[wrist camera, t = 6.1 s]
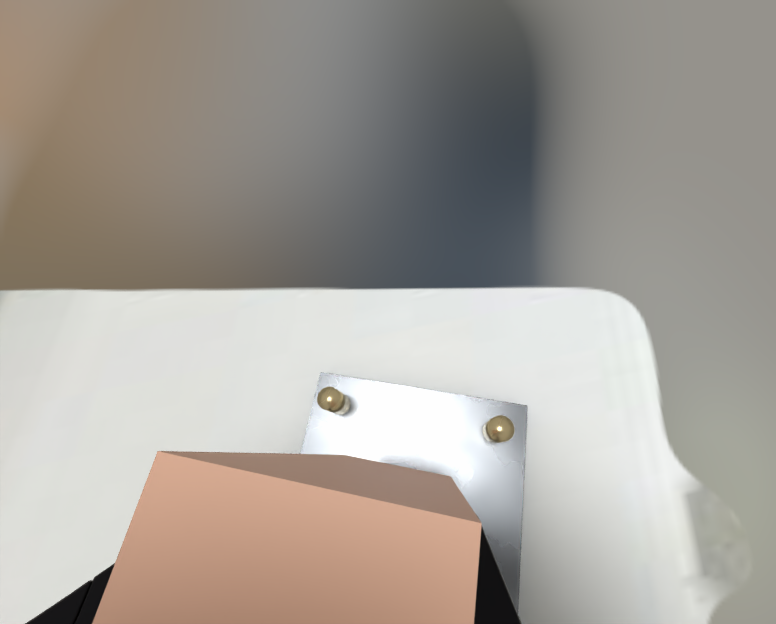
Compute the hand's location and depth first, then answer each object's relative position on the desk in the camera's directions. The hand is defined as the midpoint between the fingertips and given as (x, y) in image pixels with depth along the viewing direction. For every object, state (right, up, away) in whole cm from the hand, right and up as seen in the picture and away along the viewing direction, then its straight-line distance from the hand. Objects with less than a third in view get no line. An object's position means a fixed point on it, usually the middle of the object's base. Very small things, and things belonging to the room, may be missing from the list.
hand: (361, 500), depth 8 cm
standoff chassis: (+1, -6, +11) cm, 12 cm away
